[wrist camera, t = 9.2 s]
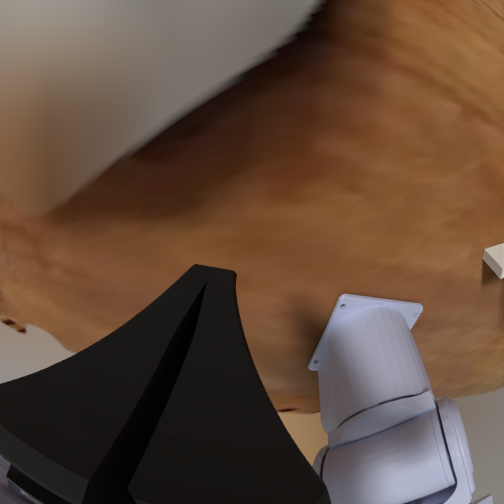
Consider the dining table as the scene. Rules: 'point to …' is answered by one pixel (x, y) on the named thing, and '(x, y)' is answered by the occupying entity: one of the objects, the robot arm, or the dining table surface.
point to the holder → (495, 259)
